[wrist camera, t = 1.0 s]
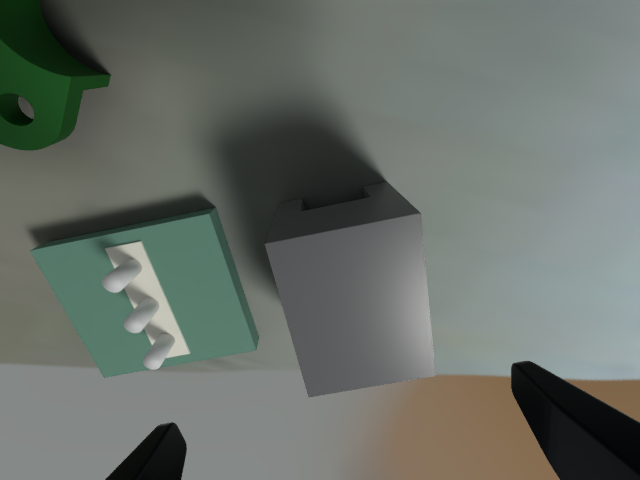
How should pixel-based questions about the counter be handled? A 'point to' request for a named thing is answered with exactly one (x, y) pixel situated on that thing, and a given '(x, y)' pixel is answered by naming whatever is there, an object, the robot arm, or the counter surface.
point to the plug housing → (354, 290)
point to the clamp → (38, 79)
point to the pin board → (152, 293)
